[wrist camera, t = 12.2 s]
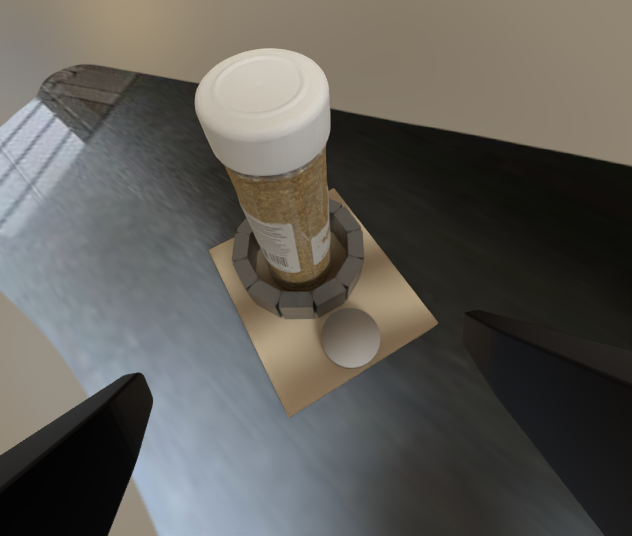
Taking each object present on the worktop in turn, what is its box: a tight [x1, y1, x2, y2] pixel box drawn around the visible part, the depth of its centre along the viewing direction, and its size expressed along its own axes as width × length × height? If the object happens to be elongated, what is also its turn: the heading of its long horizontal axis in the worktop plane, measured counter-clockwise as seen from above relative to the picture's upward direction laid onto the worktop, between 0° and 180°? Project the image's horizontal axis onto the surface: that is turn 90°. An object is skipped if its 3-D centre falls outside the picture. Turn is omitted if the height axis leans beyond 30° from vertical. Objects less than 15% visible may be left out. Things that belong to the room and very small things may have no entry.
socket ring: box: [231, 198, 364, 319], centre depth 21 cm, size 8×8×2 cm
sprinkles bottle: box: [195, 48, 332, 292], centre depth 16 cm, size 5×5×14 cm
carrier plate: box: [209, 188, 438, 417], centre depth 21 cm, size 13×11×2 cm
